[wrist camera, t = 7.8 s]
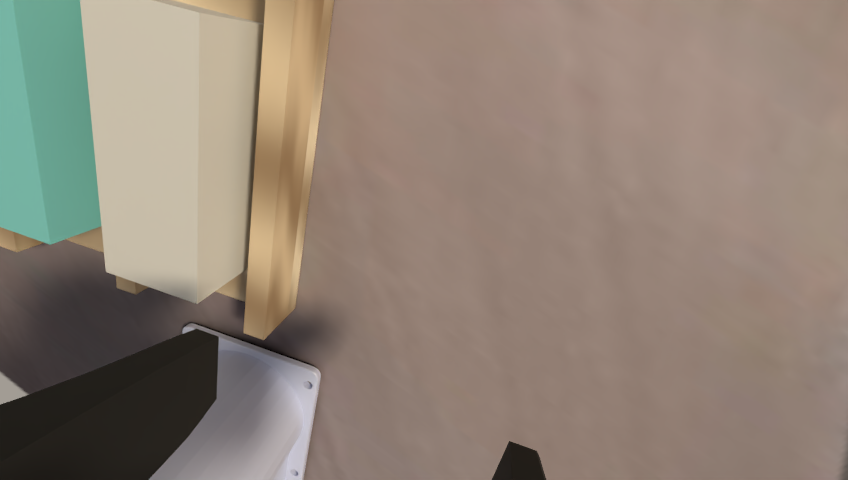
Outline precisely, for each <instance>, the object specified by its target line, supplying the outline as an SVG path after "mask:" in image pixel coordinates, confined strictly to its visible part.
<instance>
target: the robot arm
mask: <svg viewBox="0 0 848 480" xmlns="http://www.w3.org/2000/svg"><path fill="white" fill-rule="evenodd" d="M320 379H321V374H320V372H319V370H318V369H317V368H315V367H314V366H311V365H308V364H305V363H302V362H300V361H297V360H294V359H291V358H288V357H286V356H283V355H280V354H277V353H274V352H272V351H269V350H266V349H263V348H261V347H258V346H255V345H252V344H249V343H247V342H244V341H241V340H238V339H235V338H233V337H230V336H227V335H224V334H222V333H219V332H216V331H213V330H210V329H208V328H205V327H202V326H199V325H196V324H193V323H190V324H188V325H187V326H185V327H184V328H183V330H182V334H181V335H179V336H176V337H174V338H171V339H169V340H167V341H164V342H162V343H159V344H157V345H155V346H152V347H150V348H147V349H145V350H143V351H140V352H138V353H135V354H133V355H131V356H128V357H126V358H123V359H121V360H118V361H116V362H113V363H111V364H109V365H106V366H104V367H101V368H99V369H96V370H94V371H91V372H89V373H86V374H84V375H81V376H78V377H76V378H73V379H70V380H67V381H65V382H62V383H59V384H57V385H54V386H51V387H49V388H46V389H43V390H41V391H38V392H35V393H32V394H30V395H27V396H25V397H22V398H19V399H16V400H13V401H10V402H7V403H4V404H1V405H0V480H303V478H304V472H305V467H306V461H307V455H308V449H309V443H310V437H311V431H312V426H313V420H314V414H315V408H316V402H317V396H318V390H319V384H320ZM308 381H309V382H311V384H310V383H309V382H308ZM492 480H546V478H545V474H544V471H543V468H542V464H541V461H540V457H539V455H538V453H537V451H535V450H533V449H530V448H527V447H524V446H521V445H519V444H516V443H513V442H510V441H509V443H508V445H507V448H506V450H505V452H504V454H503V456H502V459H501V461H500V463H499V465H498V467H497V470H496V472H495V474H494V476H493V478H492Z"/></svg>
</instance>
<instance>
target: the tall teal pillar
mask: <svg viewBox="0 0 848 480" xmlns="http://www.w3.org/2000/svg"><path fill="white" fill-rule="evenodd" d="M0 227H1V228H4V229H7V230H10V231H13V232H16V233H19V234H21V235H24V236H27V237H30V238H33V239H36V240H39V241H41V242H44V243H47V244H50V245H51V244H53V243H56V242H59V241H62V240H64V239H67V238H70V237H73V236H76V235H78V234H81V233H84V232H87V231H89V230H92V229H95V228H98V227H101V215H100V205H99V194H98V184H97V174H96V163H95V153H94V142H93V132H92V121H91V111H90V100H89V90H88V79H87V69H86V58H85V48H84V38H83V27H82V17H81V6H80V0H0Z"/></svg>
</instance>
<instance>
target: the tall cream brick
mask: <svg viewBox="0 0 848 480" xmlns="http://www.w3.org/2000/svg"><path fill="white" fill-rule="evenodd" d="M80 6H81V17H82V27H83V38H84V48H85V58H86V69H87V79H88V90H89V100H90V111H91V121H92V132H93V142H94V153H95V163H96V174H97V184H98V194H99V205H100V215H101V226H102V236H103V247H104V257H105V268H106V272H108V273H110V274H113V275H116V276H119V277H122V278H125V279H127V280H130V281H133V282H136V283H139V284H142V285H144V286H147V287H150V288H153V289H156V290H159V291H161V292H164V293H167V294H170V295H173V296H176V297H178V298H181V299H184V300H187V301H190V302H193V303H195V304H198V303H199V302H201V301H202V300H203V299H205V298H206V297H208V296H209V295H211V294H212V293H213V292H215V291H216V290H218V289H219V288H221V287H222V286H223V285H225V284H226V283H228V282H229V281H230V280H232V279H233V278H235V277H236V276H238V275H239V274H240V273H242V272H243V271H245V270H246V269H248V257H249V242H250V227H251V212H252V196H253V181H254V166H255V151H256V136H257V121H258V106H259V91H260V76H261V60H262V45H263V30H264V24H263V23H259V22H255V21H251V20H247V19H244V18H240V17H236V16H232V15H228V14H225V13H221V12H217V11H213V10H209V9H206V8H202V7H198V6H194V5H190V4H187V3H183V2H179V1H174V0H80Z"/></svg>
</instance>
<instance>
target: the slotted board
mask: <svg viewBox="0 0 848 480" xmlns="http://www.w3.org/2000/svg"><path fill="white" fill-rule="evenodd" d="M174 1H179V2H183V3H187V4H190V5H194V6H198V7H202V8H206V9H209V10H213V11H217V12H221V13H225V14H228V15H232V16H236V17H240V18H244V19H247V20H251V21H255V22H259V23H263V24H264V30H263V45H262V60H261V76H260V91H259V106H258V121H257V136H256V151H255V166H254V181H253V196H252V212H251V227H250V242H249V257H248V269H246V270H245V271H243V272H242V273H240V274H239V275H238V276H236V277H235V278H233V279H232V280H230V281H229V282H228V283H226V284H225V285H223V286H222V287H221V288H219V289H218V290H216V291H215V292H218V293H221V294H224V295H227V296H230V297H233V298H235V299H238V300H241V301H244V302H245V317H244V332H243V333H245V334H248V335H250V336H253V337H256V338H259V339H262V340H265V339H266V337H267V336H268V335H269V334H270V333H271V332H272V331H273V330H274V329H275V328H276V327H277V326H278V325H279V324H280V323H281V322H282V321H283V320H284V319H285V318H286V317H287V316H288V315H289V314H290V313H291V312H292V311H293V310H294V309H295V306H296V299H297V291H298V283H299V275H300V267H301V259H302V251H303V243H304V235H305V227H306V219H307V211H308V203H309V195H310V187H311V179H312V172H313V164H314V156H315V148H316V140H317V132H318V124H319V116H320V108H321V100H322V92H323V84H324V76H325V68H326V60H327V52H328V45H329V37H330V29H331V21H332V13H333V5H334V0H174ZM65 240H68V241H71V242H74V243H77V244H80V245H83V246H85V247H88V248H91V249H94V250H97V251H100V252H103V253H104V247H103V236H102V226H101V227H98V228H95V229H92V230H89V231H87V232H84V233H81V234H78V235H76V236H73V237H70V238H67V239H65ZM42 243H44V242H41V241H39V240H36V239H33V238H30V237H27V236H24V235H21V234H19V233H16V232H13V231H10V230H7V229H4V228H1V227H0V246H1V247H3V248H6V249H9V250H12V251H15V252H19V251H22V250H25V249H28V248H31V247H33V246H36V245H39V244H42ZM116 283H117V288H119V289H121V290H124V291H127V292H130V293H133V294H135V295H136V294H138V293H139V292H141V291H143V290H145V289H147V288H148V287H147V286H144V285H142V284H139V283H136V282H133V281H130V280H127V279H125V278H122V277H119V276H116Z"/></svg>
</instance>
